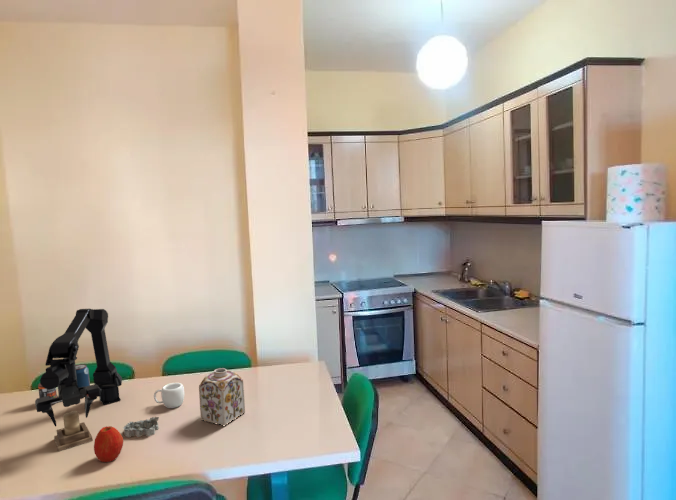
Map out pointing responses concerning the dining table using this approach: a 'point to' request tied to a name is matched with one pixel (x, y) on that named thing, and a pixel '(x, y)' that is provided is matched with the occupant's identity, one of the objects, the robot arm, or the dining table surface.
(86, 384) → the soda can
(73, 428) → the wooden dowel
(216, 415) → the decorative jar
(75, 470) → the dining table surface
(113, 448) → the apple
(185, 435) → the dining table surface
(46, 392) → the supplement bottle
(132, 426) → the egg carton
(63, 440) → the walnut socket holder
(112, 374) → the robot arm
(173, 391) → the mug
